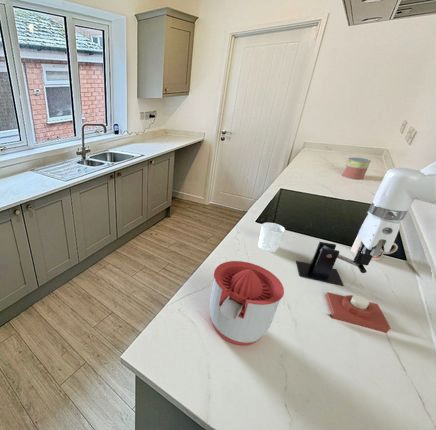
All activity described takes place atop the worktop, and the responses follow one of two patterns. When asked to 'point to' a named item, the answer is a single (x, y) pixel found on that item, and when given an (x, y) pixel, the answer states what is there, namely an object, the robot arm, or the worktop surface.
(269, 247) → the white cup
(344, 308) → the button housing
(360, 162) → the canned food
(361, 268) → the lever
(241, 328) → the citrus juicer
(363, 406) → the worktop surface
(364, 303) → the button
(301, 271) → the bracket
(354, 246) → the teacup with lid
